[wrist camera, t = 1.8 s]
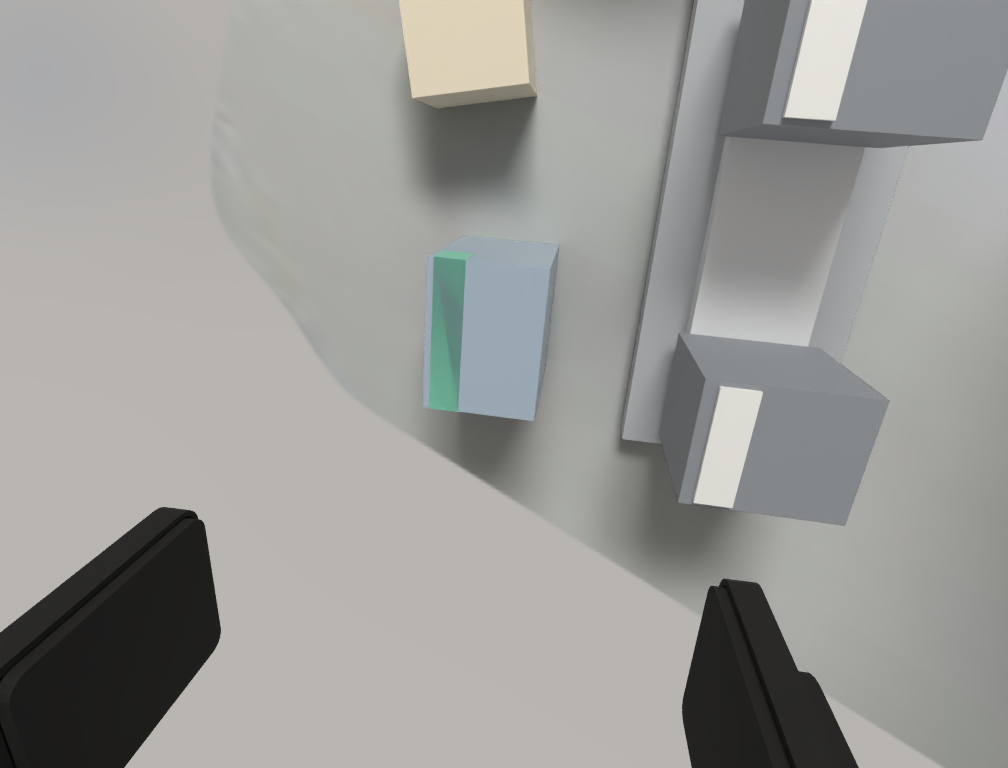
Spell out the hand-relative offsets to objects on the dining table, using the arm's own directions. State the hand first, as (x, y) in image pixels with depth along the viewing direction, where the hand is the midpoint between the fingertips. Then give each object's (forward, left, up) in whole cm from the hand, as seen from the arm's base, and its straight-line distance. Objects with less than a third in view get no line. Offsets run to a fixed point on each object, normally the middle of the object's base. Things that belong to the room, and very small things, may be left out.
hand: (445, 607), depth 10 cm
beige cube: (-12, -3, -19) cm, 23 cm away
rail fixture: (-5, +10, -19) cm, 22 cm away
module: (-1, -1, -19) cm, 19 cm away
